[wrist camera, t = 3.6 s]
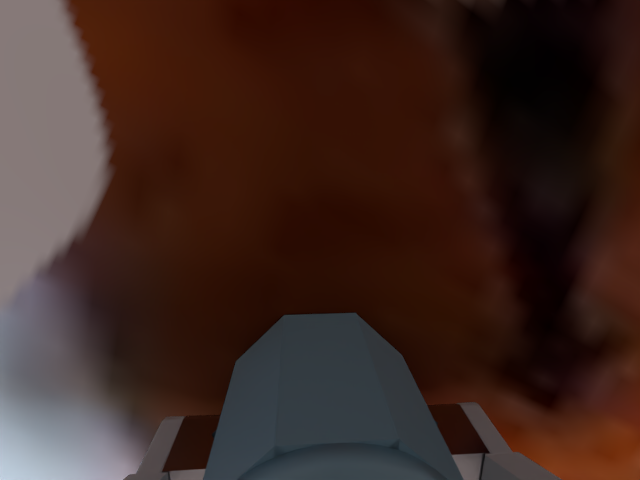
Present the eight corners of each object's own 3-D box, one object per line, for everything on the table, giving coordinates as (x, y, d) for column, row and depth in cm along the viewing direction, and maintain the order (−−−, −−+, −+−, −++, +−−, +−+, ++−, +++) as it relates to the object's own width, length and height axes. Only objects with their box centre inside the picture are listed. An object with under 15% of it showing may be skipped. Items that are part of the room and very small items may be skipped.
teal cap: (232, 316, 10) (171, 479, 5) (404, 311, 10) (501, 460, 5) (242, 456, 11) (202, 689, 6) (395, 447, 12) (465, 663, 7)
